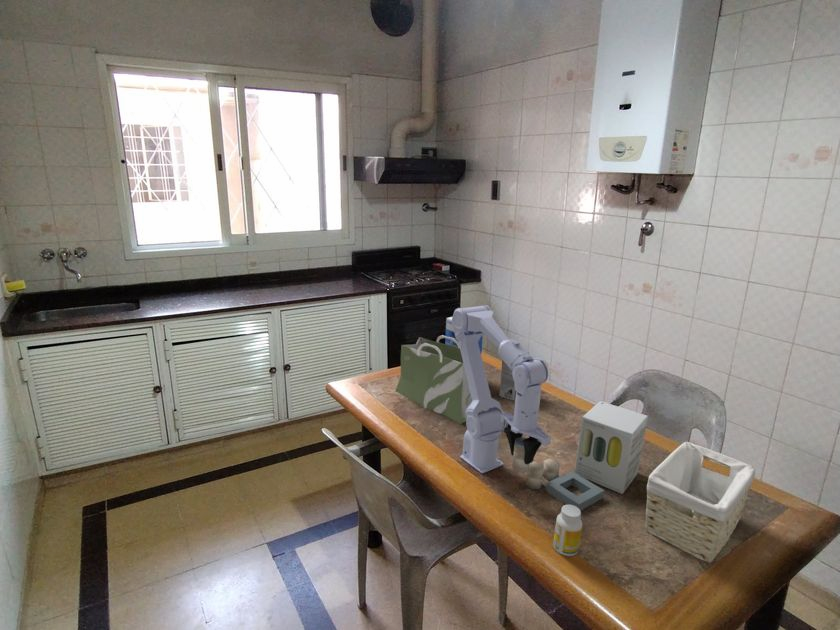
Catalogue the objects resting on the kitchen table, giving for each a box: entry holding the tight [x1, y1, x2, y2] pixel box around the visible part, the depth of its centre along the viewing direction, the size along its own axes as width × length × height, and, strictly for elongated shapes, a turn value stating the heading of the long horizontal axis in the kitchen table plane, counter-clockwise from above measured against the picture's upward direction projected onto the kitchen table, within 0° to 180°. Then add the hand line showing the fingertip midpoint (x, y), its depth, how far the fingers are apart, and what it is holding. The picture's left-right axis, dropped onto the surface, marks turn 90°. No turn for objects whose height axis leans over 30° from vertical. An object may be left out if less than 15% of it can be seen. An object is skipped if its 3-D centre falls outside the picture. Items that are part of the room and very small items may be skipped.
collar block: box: [545, 470, 605, 511], centre depth 125 cm, size 10×10×2 cm
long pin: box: [512, 436, 529, 474], centre depth 122 cm, size 4×4×8 cm
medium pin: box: [525, 460, 544, 490], centre depth 128 cm, size 4×4×6 cm
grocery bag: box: [394, 334, 485, 425], centre depth 170 cm, size 32×14×23 cm, turn 45°
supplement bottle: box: [552, 504, 583, 557], centre depth 106 cm, size 5×5×10 cm
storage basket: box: [644, 441, 756, 563], centre depth 114 cm, size 24×16×15 cm
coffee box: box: [498, 359, 516, 402], centre depth 178 cm, size 9×6×16 cm
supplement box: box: [574, 400, 649, 495], centre depth 132 cm, size 13×13×18 cm
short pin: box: [543, 458, 561, 482], centre depth 132 cm, size 4×4×4 cm
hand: (521, 458), depth 122 cm, fingers closed on long pin, 4 cm apart
